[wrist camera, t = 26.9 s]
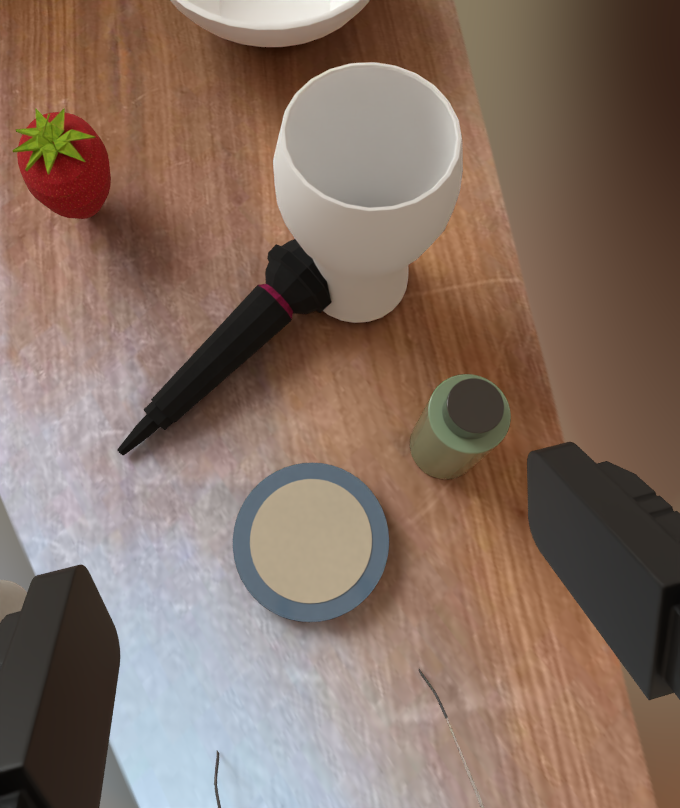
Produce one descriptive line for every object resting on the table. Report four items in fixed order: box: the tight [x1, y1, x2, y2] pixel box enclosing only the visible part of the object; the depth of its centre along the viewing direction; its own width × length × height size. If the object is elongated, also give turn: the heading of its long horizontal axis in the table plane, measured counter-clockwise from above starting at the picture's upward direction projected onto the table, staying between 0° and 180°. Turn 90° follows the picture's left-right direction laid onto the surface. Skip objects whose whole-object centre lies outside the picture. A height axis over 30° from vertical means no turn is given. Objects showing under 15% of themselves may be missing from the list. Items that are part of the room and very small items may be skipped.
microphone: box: [118, 239, 332, 455], centre depth 43 cm, size 6×6×20 cm
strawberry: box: [13, 109, 111, 219], centre depth 44 cm, size 6×8×10 cm
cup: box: [273, 62, 463, 323], centre depth 39 cm, size 11×11×15 cm
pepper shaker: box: [410, 374, 511, 479], centre depth 39 cm, size 5×5×10 cm
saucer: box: [233, 463, 389, 622], centre depth 40 cm, size 10×10×2 cm
